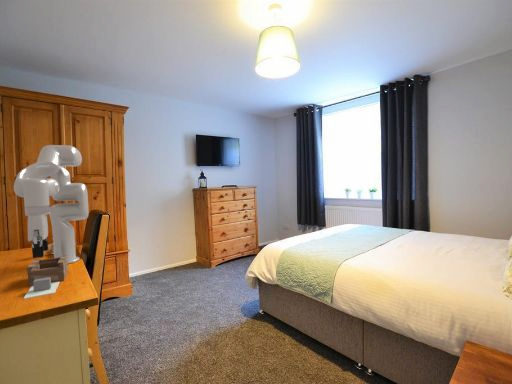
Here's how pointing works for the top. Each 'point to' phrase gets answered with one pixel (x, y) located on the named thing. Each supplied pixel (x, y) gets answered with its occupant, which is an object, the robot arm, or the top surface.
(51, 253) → the lion figurine
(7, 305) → the top surface
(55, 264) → the slide box
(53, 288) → the cover plate
